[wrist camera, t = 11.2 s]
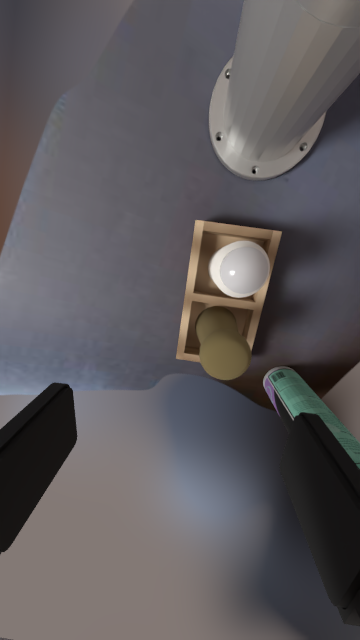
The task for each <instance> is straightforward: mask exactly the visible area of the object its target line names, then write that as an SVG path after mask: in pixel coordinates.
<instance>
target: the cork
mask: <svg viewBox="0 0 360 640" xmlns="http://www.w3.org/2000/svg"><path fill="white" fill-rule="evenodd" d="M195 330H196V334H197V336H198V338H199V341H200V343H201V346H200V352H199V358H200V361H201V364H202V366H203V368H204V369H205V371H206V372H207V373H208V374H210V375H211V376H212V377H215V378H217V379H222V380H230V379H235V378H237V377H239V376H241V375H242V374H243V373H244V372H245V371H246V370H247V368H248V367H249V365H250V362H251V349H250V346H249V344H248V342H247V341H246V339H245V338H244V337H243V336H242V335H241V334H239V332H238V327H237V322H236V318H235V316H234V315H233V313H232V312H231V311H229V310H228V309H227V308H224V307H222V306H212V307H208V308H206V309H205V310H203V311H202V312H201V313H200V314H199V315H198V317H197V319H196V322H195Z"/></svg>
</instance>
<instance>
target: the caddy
mask: <svg viewBox="0 0 360 640" xmlns="http://www.w3.org/2000/svg"><path fill="white" fill-rule="evenodd" d="M281 234H282V231H274V230H267V229H259V228H252V227H245V226H237V225H230V224H223V223H215V222H208V221H200V220H196V222H195V229H194V236H193V243H192V250H191V257H190V264H189V271H188V278H187V285H186V292H185V299H184V306H183V313H182V320H181V327H180V334H179V341H178V348H177V355H176V359H182V360H189V361H195V362H201V361H200V358H199V352H200V346H201V343H200V341H199V338H198V336H197V334H196V330H195V322H196V319H197V317H198V315H199V314H200V313H201V312H202V311H203V310H205V309H206V308H208V307H212V306H222V307H224V308H227V309H228V310H229V311H231V312H232V313H233V315H234V316H235V318H236V322H237V327H238V332H239V334H241V335H242V336H243V337H244V338H245V339H246V341H247V342H248V344H249V346H250V349H251V350H252V346H253V342H254V339H255V335H256V331H257V327H258V323H259V319H260V315H261V311H262V308H263V304H264V300H265V296H266V292H267V288H268V284H269V280H270V277H271V273H272V269H273V265H274V261H275V257H276V253H277V249H278V246H279V242H280V238H281ZM237 241H251V242H254V243H256V244H258V245H259V246H260V247H262V248H263V249H264V251H265V252H266V254H267V256H268V258H269V262H270V271H269V276H268V278H267V281H266V282H265V284H264V285H263V287H262V288H261V289H260V290H259V291H257V292H256V293H254V294H252V295H250V296H247V297H242V298H237V297H231V296H229V295H227V294H225V293H224V292H222V291H221V290H220V289H219V288H218V286H217V285H216V284H215V283H214V282H213V281H212V279H211V278H210V276H209V273H208V262H209V259H210V257H211V256H212V254H213V253H214V252H215V251H216V250H218V249H220V248H222V247H224V246H226V245H229V244H231V243H234V242H237Z"/></svg>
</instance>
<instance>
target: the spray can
mask: <svg viewBox="0 0 360 640" xmlns="http://www.w3.org/2000/svg"><path fill="white" fill-rule="evenodd" d="M263 385H264V388H265V390H266V392H267V394H268V395H269V397H270V399H271V401H272V403H273V405H274V407H275V408H276V410H277V412H278V414H279V416H280V418H281V419H282V421H283V423H284V425H285V427H286V429H287V430H288V432H289V433H290V430H291V427H292V424H293V420H294V417H295V416H296V415H299V413H300V412H306V413H314V414H317V415H319V416H320V417H321V419H322V420H323V421H324V423H325V424H326V425H327V427H328V428H329V429H330V431H331V432H332V433H333V435H334V436H335V437H336V439H337V440H338V441H339V443H340V444H341V445H342V447H343V448H344V449H345V450H346V452H347V453H348V454H349V456H350V457H351V458H352V460H353V461H354V462H355V464H356V465H357V466H358V468H359V469H360V443H359V442H358V441H357V440H356V438H355V437H354V436H353V435H352V434H351V433H350V432H349V431H348V429H347V428H346V427H345V426H344V425H343V424H342V423H341V422H340V421H339V419H338V418H337V417H336V416H335V415H334V414H333V413H332V412H331V410H330V409H329V408H328V407H327V406H326V405H325V404H324V403H323V402H322V400H321V399H320V398H319V397H318V396H317V395H316V394H315V393H314V392H313V390H312V389H311V388H310V387H309V386H308V385H307V384H306V383H305V382H304V380H303V379H302V378H301V377H300V376H299V375H298V374H297V373H296V372H295V371H294V370H293V369H291V368H289V367H285V366H280V367H275V368H273V369H271V370H270V371H269V372H268V373H267V374H266V375H265V377H264V380H263Z"/></svg>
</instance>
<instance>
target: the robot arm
mask: <svg viewBox="0 0 360 640" xmlns="http://www.w3.org/2000/svg"><path fill="white" fill-rule="evenodd" d="M359 74H360V0H244V4H243V10H242V15H241V20H240V25H239V30H238V36H237V41H236V46H235V51H234V55H233V57H232V58H231V59H230V60H229V62H228V63H227V64H226V65H225V67H224V69H223V70H222V72H221V74H220V76H219V77H218V79H217V82H216V85H215V87H214V90H213V93H212V98H211V102H210V109H209V133H210V138H211V143H212V145H213V148H214V151H215V153H216V155H217V156H218V158H219V160H220V162H221V163H222V164H223V165H224V166H225V167H226V168H227V169H228V170H229V171H231V172H232V173H233V174H235V175H236V176H239V177H241V178H243V179H248V180H253V181H260V180H268V179H272V178H275V177H277V176H279V175H282V174H284V173H285V172H287V171H288V170H290V169H291V168H292V167H294V166H295V165H296V164H297V163H298V162H299V161H300V160H301V159H302V158H303V157H304V156H305V155H306V154H307V153H308V152H309V150H310V149H311V147H312V146H313V144H314V143H315V141H316V139H317V138H318V135H319V133H320V131H321V129H322V126H323V123H324V119H325V116H326V112H327V110H328V109H329V107H330V106H331V105H332V104H333V103H334V102H335V101H336V100H337V98H338V97H339V96H340V95H341V94H342V93H343V92H344V91H345V90H346V88H347V87H348V86H349V85H350V84H351V83H352V82H353V81H354V79H355V78H356V77H357V76H358V75H359ZM227 78H228V79H227ZM218 138H219V139H220V141H217V140H216V139H218ZM300 149H301V151H300ZM252 171H255V174H253V173H252ZM76 440H77V430H76V419H75V410H74V400H73V390H72V388H70V387H69V385H68V384H62V383H52V384H51V385H50V386H48V387H47V388H46V389H45V390H44V391H43V392H42V393H41V394H39V395H38V396H37V397H36V398H35V399H34V400H33V401H32V402H31V403H29V404H28V405H27V406H26V407H25V408H24V409H23V410H22V411H20V413H18V414H17V415H16V416H15V417H14V418H13V419H12V420H10V421H9V422H8V423H7V424H6V425H5V426H4V427H3V428H1V429H0V554H1V552H5V551H6V550H7V549H8V548H9V547H10V546H11V544H12V543H13V541H14V540H15V538H16V536H17V535H18V533H19V532H20V530H21V529H22V527H23V525H24V524H25V522H26V521H27V519H28V518H29V516H30V514H31V513H32V511H33V510H34V508H35V507H36V505H37V504H38V502H39V500H40V499H41V497H42V496H43V494H44V493H45V491H46V489H47V488H48V486H49V485H50V483H51V482H52V480H53V479H54V477H55V475H56V474H57V472H58V471H59V469H60V468H61V466H62V464H63V463H64V461H65V460H66V458H67V457H68V455H69V453H70V452H71V450H72V448H73V447H74V445H75V443H76ZM280 471H281V475H282V477H283V480H284V483H285V485H286V488H287V490H288V493H289V496H290V498H291V501H292V503H293V506H294V508H295V511H296V514H297V516H298V519H299V522H300V524H301V526H302V529H303V532H304V535H305V537H306V540H307V542H308V545H309V548H310V550H311V553H312V555H313V558H314V560H315V563H316V566H317V568H318V571H319V574H320V576H321V579H322V581H323V584H324V587H325V589H326V591H327V594H328V596H329V599H330V600H331V602H332V603H333V605H334V606H337V608H338V610H339V613H340V615H341V618H342V620H343V622H344V624H350V625H356V626H360V469H359V468H358V466H357V465H356V464H355V462H354V461H353V460H352V458H351V457H350V456H349V454H348V453H347V452H346V450H345V449H344V448H343V447H342V445H341V444H340V443H339V441H338V440H337V439H336V437H335V436H334V435H333V433H332V432H331V431H330V429H329V428H328V427H327V425H326V424H325V423H324V421H323V420H322V419H321V417H320V416H319V415H317V414H314V413H306V412H300V413H299V415H296V416H295V417H294V420H293V424H292V427H291V430H290V433H289V436H288V439H287V443H286V446H285V449H284V452H283V455H282V458H281V462H280ZM0 640H11V639H5V638H0Z"/></svg>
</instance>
